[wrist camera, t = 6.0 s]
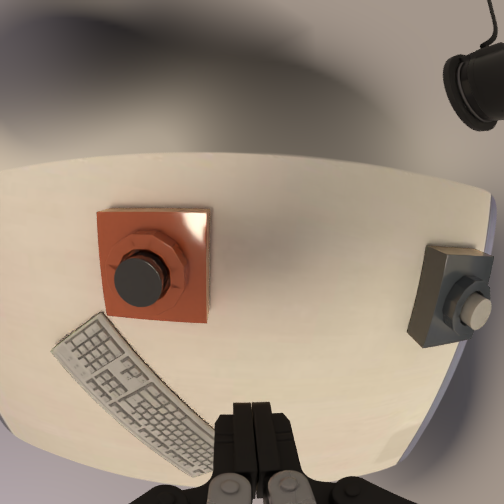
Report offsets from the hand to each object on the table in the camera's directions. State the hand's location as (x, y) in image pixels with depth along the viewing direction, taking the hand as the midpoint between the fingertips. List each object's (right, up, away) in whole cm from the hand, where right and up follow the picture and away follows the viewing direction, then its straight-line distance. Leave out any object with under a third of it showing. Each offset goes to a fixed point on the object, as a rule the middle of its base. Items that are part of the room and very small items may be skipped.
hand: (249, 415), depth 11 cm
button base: (-9, +6, +16) cm, 19 cm away
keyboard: (-13, -14, +21) cm, 29 cm away
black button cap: (-9, +5, +12) cm, 16 cm away
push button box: (+24, +2, +19) cm, 31 cm away
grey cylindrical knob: (+24, +1, +14) cm, 28 cm away
